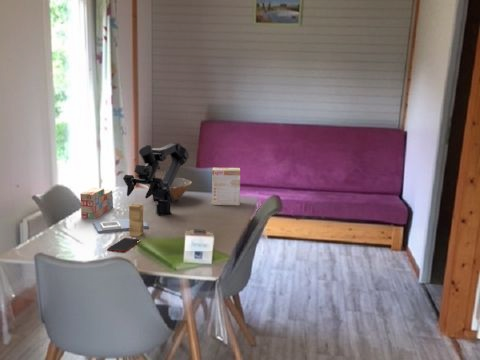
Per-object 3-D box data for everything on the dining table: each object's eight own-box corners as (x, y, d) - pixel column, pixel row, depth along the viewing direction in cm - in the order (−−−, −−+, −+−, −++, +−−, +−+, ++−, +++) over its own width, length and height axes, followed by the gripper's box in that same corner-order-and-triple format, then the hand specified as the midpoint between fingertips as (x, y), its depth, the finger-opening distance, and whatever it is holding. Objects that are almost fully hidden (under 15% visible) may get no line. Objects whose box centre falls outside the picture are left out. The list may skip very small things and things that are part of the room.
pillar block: (133, 231, 211) (133, 203, 209) (143, 232, 211) (143, 204, 208) (129, 235, 207) (129, 205, 204) (139, 236, 206) (139, 206, 203)
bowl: (174, 191, 285) (174, 175, 283) (200, 200, 268) (200, 182, 266) (137, 197, 269) (137, 180, 267) (162, 207, 251) (162, 189, 249)
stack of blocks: (101, 206, 249) (101, 183, 247) (113, 207, 248) (112, 184, 246) (81, 218, 229) (80, 193, 226) (93, 219, 228) (92, 194, 225)
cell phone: (106, 251, 188) (106, 249, 188) (124, 239, 202) (124, 237, 202) (124, 253, 187) (124, 251, 186) (141, 241, 200) (141, 239, 200)
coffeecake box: (239, 202, 266) (240, 167, 262) (239, 205, 259) (240, 170, 255) (212, 201, 266) (212, 167, 262) (211, 205, 259) (212, 169, 255)
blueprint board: (140, 219, 230) (140, 214, 229) (148, 227, 217) (148, 223, 217) (93, 224, 220) (92, 219, 220) (98, 233, 208) (98, 228, 208)
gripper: (126, 156, 220) (111, 183, 210) (162, 160, 214) (149, 187, 205) (134, 172, 228) (120, 198, 219) (170, 176, 222) (157, 203, 213)
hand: (136, 196), depth 214 cm, fingers open, 9 cm apart
